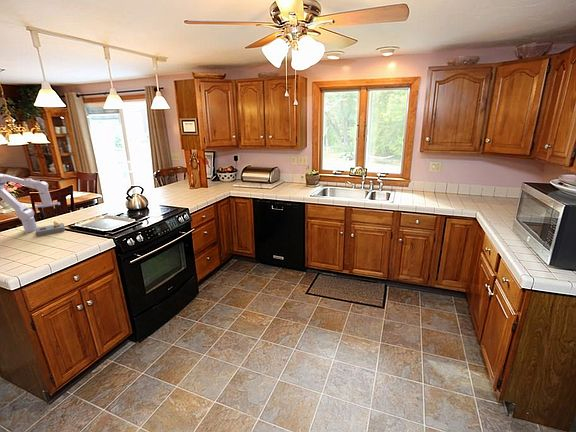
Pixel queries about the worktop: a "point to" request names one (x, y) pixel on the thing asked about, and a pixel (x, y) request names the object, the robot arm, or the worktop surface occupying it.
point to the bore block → (49, 229)
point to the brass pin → (56, 224)
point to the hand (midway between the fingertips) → (51, 215)
